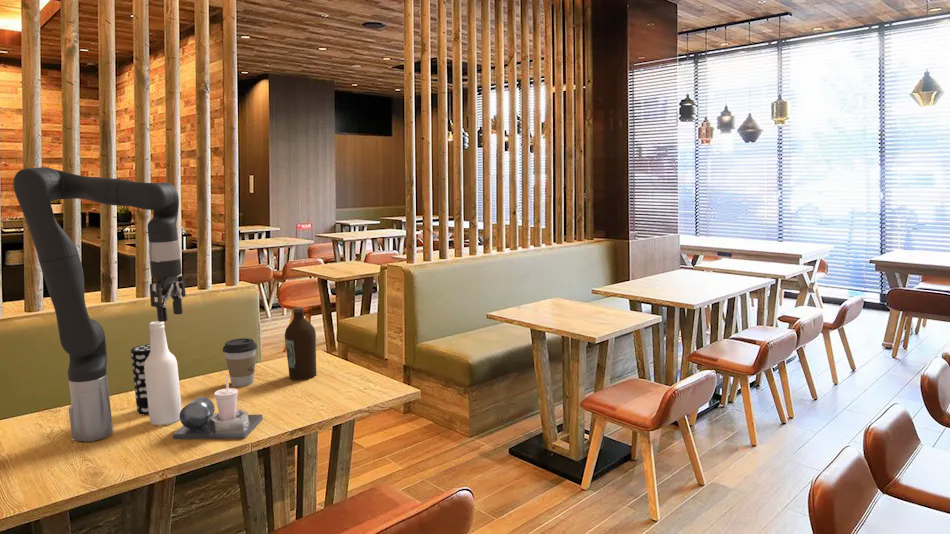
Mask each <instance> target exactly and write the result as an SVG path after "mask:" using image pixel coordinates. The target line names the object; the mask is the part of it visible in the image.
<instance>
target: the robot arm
mask: <svg viewBox="0 0 950 534" xmlns="http://www.w3.org/2000/svg"><path fill="white" fill-rule="evenodd" d="M12 187H13V190H14V194H15V197H16V200H17V202H18V205H19V206H20V207H19V208H20V209H21V211H22V214H23V216H24V218H25V220H26V223H27V226H28V229H29V232H30V235H31V239H32V242H33V244H34V247H35V251H36V254H37V258H38V262H39V266H40V270H41V272H42V276H43V278H44V282H45V284H46V285H45V286H46V288H47V291H48V294H49V297H50V300H51V303H52V305H53V308H54V312H55V318H56V323H57V330H58V336H59V341H60V345H61V347H62V350H64V351H65V352H66V353H67V354H68V355H69V364H68V367H67V378H68V384H69V386H68V387H69V393H70V401H71V405H70V406H68V417H69V424H70V425H69V426H70V434H71V440H72V439H76V440H78V441H77V442H79V441H84V442H83V443H87V442H86V441H92V442H96V441H95V440H97V441H100V440H99V439H101V440H104V439H106V438H108V436H109V437H111V436H112V435H113V434H114V426H113V417H112V416H113V415H112V408H111V399H110V391H109V390H110V389H109V382H108V374H107V365H108V354H107V342H106V333H105V329H104V328H103V326H102V325H101V323H100V322H98V321H97V320H95V319H93V318H90V315H89V313H88V309H87V306H86V299H85V275H84V270H83V265H82V262H81V258H80V255H79V250H78V248H77V247H76V244H75V243H74V241H73V240H72V239H71V238H70V236H69V235H68V234H67V233H66V232H65V231H64V229H63V228H62V227H61V226H60V224H59V223H58V221H57V219H56V217H55V214H54V210H53V206H52V203H51V202H54V201H59V200H71V199H78V200H79V199H80V200H86V201H90V202H94V203H98V204H102V205H109V206H117V207H132V208H137V209H142V210H148V211H149V210H150V211H152V212H153V213H152V218H151V219H150V220H149V221H148V223H147V239H148V259H149V266H150V267H149V269H150V271H149V272H150V276H151V277H152V278H155V279H156V283H150V284H149V296H150V307H151V308H153V307H154V308H156V311H157V314H156V315H157V321H159V322H164V323H165V322H167V321H168V311H167V302H168V301H169V300H170V298H171V300H172V309H173V315H182V314H183V312H184V311H183V300H184V298H185V297H186V295H187V294H186V285H185V278H184V275H182V273H183V271H182V259H181V249H180V245H179V244H180V243H179V239H178V231H177V230H178V228H177V221H178V215H179V209H180V208H179V205H180V198H179V192H178V191H177V188H175V186H174V185H173V184H171V183H169V182H140V181H134V180H130V179H123V178H112V177H98V176H85V175H79V174H74V173H70V172H66V171H62V170H58V169H55V168H51V167H47V166H45V167H42V166H40V167H29V168H28V167H27V168H23V169H20V170H18V171H17V172H16V173H15V174H14V178H13V186H12ZM112 433H113V434H112ZM111 434H112V435H111ZM103 438H104V439H103ZM76 440H75V441H76Z"/></svg>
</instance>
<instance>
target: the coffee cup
mask: <svg viewBox="0 0 950 534" xmlns="http://www.w3.org/2000/svg"><path fill="white" fill-rule="evenodd" d="M257 348H258V344H257V342H255V341H254V339H253V338H251V337H250V338H249V337H243V338H242V337H241V338H234V339H233V338H232V339H230V340H227V341H226V342H224V345H223V347H222V353H224V356H225V357H224V358H225V360H226V365H227V370H228V374H229V379H230V383H231V385H232V386H233V387H237V388H239V387H240V388H241V387H246V386H251V385H252V384H254V381H255V370H256V369H255V368H256V355H257V354H256V352H257V351H256V350H257Z"/></svg>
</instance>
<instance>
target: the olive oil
mask: <svg viewBox="0 0 950 534" xmlns="http://www.w3.org/2000/svg"><path fill="white" fill-rule="evenodd" d="M293 316H294V317H293V320H292V321H291V322H290V323H289V324H288V326H286V328H285V332H284V341H285V342H284V343H285V351H286V357H287V358H286V359H287V365H288V366H287V367H288V376H289V379H290V380H294V381H303V380H304V379H306V380H310V379H309V378H311V379H313V378H315V377H316V376H317V348H316V347H317V345H316V343H317V339H316V337H317V334H316V329H315V328H314V326H313V325H312V323H311V322H310V321H308V320H307V319H306V318H305V311H304V307H303V306H295V307H294V308H293ZM314 376H315V377H314ZM312 377H313V378H312ZM304 381H305V380H304Z"/></svg>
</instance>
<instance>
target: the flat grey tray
mask: <svg viewBox="0 0 950 534" xmlns="http://www.w3.org/2000/svg"><path fill="white" fill-rule="evenodd" d="M215 408H216V407H215V404H214V402H213V401H212V400H211V399H210V398H209V397H206V396H198V397H196V398H194V399H193V400H192V401H190V402H189V403H188V404H187V405H186V404H185V406H184V407H183V408H182V410H181V412H180V420H179V421H180V424H182V426H181V427H180V428H178V429H177V430H176V431H175V432H174V433H172V438H173V440H222V439H223V440H231V439H233V440H235V439H236V440H237V439H239V440H241V439H242V440H243V439H246V438H247V437H248V436H249V435H250V434H251V433H252V432H253V431H254V430H255V429H256V428H257V426H258V425H259V424H260V423H261V422H262V421H263V420H264V419H263V418H264V417H263V414H249V412H247V411H245V410H244V409H237V408H236V419H232V420H225V421H221V419H220V415H219V411H218V412H215V410H216V409H215Z"/></svg>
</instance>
